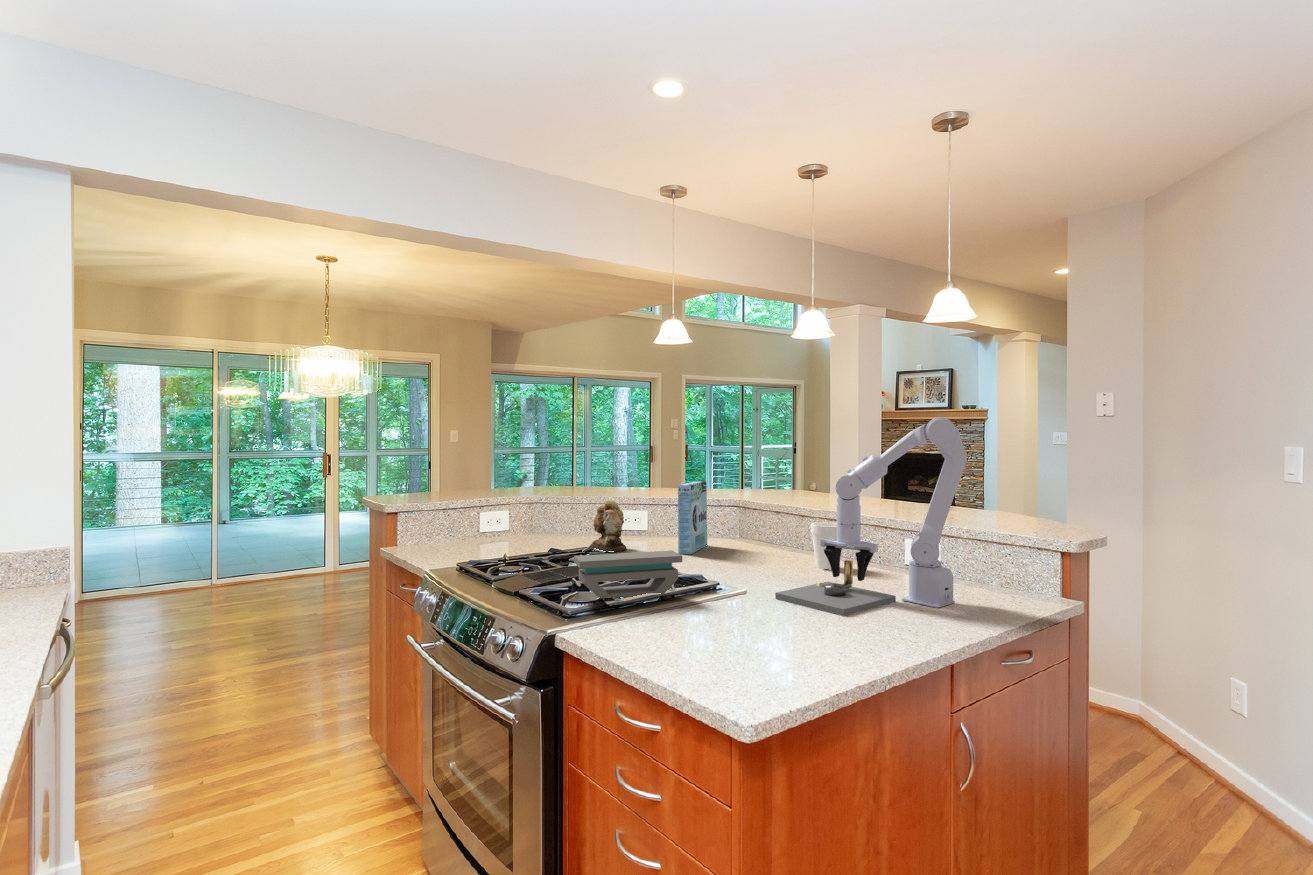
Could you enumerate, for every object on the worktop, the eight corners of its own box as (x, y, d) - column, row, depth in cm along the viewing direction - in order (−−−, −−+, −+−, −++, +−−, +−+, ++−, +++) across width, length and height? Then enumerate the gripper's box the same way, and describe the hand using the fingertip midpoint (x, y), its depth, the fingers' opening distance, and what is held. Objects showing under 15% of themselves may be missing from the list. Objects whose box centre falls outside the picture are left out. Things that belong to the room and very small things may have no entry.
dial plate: (895, 601, 166) (895, 592, 166) (843, 615, 154) (843, 605, 153) (827, 587, 182) (827, 578, 182) (775, 598, 169) (775, 589, 169)
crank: (839, 597, 164) (839, 567, 164) (820, 593, 167) (820, 564, 167) (859, 589, 172) (859, 561, 172) (841, 586, 175) (841, 558, 175)
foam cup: (807, 569, 205) (806, 525, 204) (815, 564, 213) (815, 521, 213) (839, 572, 200) (839, 527, 200) (846, 566, 208) (846, 523, 208)
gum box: (691, 554, 229) (691, 485, 229) (677, 554, 231) (676, 485, 230) (707, 545, 247) (707, 481, 247) (694, 544, 249) (693, 481, 249)
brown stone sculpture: (582, 546, 246) (582, 498, 246) (612, 544, 252) (612, 497, 252) (601, 554, 230) (601, 502, 230) (633, 551, 236) (634, 501, 236)
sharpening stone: (672, 593, 175) (672, 550, 175) (682, 600, 168) (682, 555, 168) (574, 600, 168) (573, 555, 168) (579, 608, 161) (579, 561, 161)
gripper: (814, 522, 174) (814, 576, 175) (869, 528, 165) (869, 585, 165) (827, 519, 180) (827, 572, 180) (881, 524, 170) (881, 580, 170)
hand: (848, 578), depth 173 cm, fingers open, 6 cm apart
